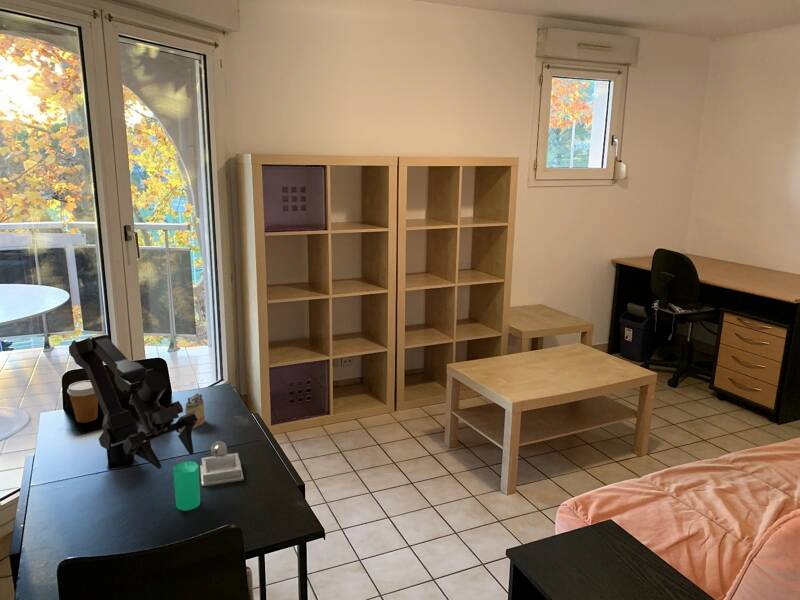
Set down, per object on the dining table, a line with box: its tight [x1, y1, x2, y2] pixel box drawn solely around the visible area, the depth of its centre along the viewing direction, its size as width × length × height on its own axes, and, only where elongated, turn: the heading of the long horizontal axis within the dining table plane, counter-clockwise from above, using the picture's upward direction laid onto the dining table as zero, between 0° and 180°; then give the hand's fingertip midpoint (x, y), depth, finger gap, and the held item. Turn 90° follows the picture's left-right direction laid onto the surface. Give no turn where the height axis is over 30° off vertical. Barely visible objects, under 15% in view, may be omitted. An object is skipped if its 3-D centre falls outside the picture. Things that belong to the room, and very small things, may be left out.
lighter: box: [185, 393, 206, 429], centre depth 199 cm, size 7×4×10 cm, turn 158°
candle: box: [172, 461, 201, 512], centre depth 154 cm, size 6×6×12 cm
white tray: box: [199, 440, 245, 488], centre depth 172 cm, size 11×17×4 cm, turn 20°
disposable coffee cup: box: [66, 379, 99, 424], centre depth 201 cm, size 10×10×12 cm
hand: (176, 461), depth 155 cm, fingers open, 9 cm apart
